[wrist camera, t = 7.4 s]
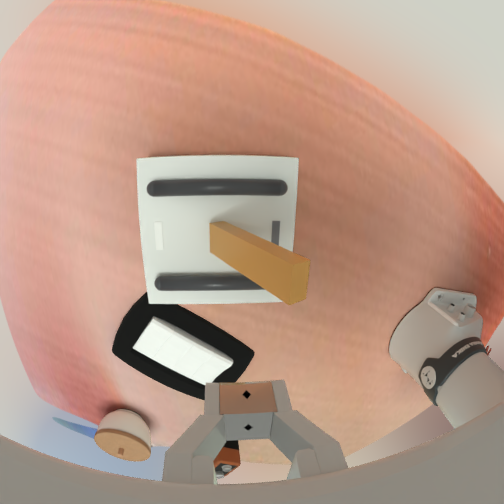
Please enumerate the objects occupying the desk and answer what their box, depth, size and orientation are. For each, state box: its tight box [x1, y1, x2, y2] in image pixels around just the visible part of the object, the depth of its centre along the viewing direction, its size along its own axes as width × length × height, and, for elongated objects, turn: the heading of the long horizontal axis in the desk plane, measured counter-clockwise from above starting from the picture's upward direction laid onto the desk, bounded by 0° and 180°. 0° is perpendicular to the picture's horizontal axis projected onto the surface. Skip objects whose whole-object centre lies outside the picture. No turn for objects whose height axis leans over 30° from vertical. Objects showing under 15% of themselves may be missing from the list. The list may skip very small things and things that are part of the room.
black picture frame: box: [112, 292, 254, 400], centre depth 39 cm, size 20×3×14 cm
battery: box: [213, 440, 240, 479], centre depth 43 cm, size 4×7×10 cm, turn 150°
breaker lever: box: [209, 221, 310, 305], centre depth 24 cm, size 2×3×12 cm, turn 179°
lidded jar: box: [94, 409, 151, 461], centre depth 40 cm, size 11×11×9 cm
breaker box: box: [137, 155, 299, 304], centre depth 30 cm, size 16×16×7 cm
